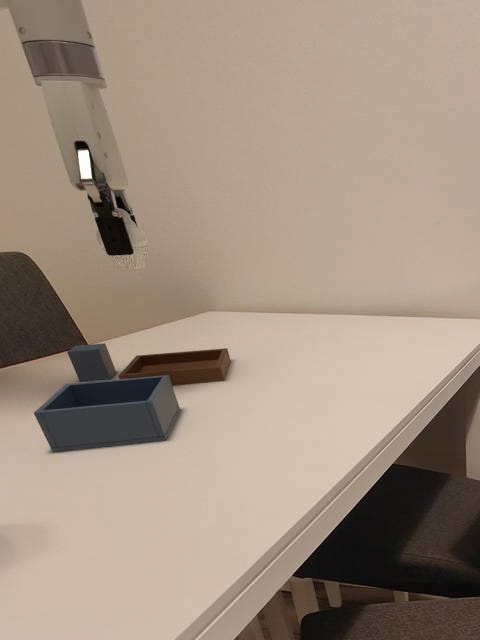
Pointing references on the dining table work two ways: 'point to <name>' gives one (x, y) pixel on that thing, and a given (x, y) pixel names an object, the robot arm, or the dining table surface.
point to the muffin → (137, 242)
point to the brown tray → (181, 366)
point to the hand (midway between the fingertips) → (126, 251)
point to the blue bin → (109, 413)
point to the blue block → (92, 362)
